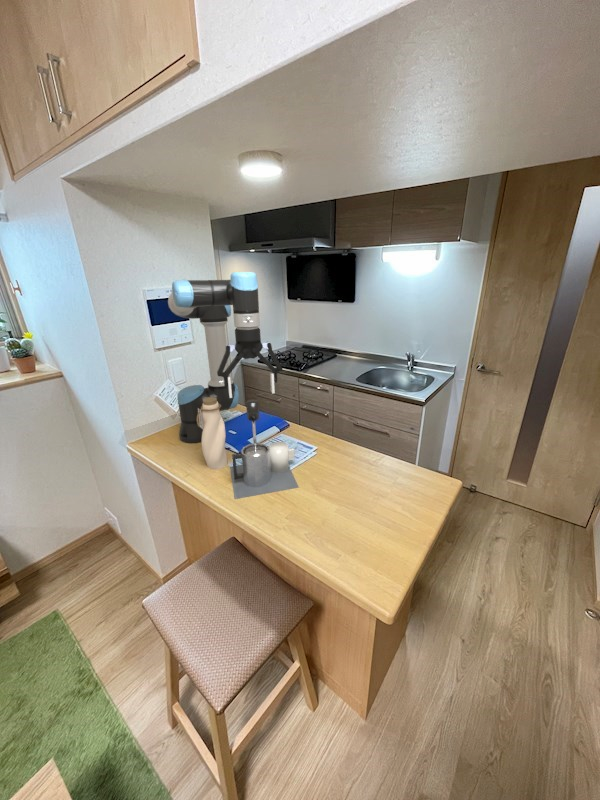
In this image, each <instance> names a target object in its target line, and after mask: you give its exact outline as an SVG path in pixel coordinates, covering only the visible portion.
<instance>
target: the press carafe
mask: <svg viewBox="0 0 600 800" xmlns="http://www.w3.org/2000/svg"><path fill="white" fill-rule="evenodd" d="M253 446H254V443H249V444H247V445H245V446H243V447H242V449H240V450H241V451H240V453H234V454H233V453H232V454H231V458H232V466H233V471H234V479H235V480H236V479H240V478H244V483H245V484H246V485H248V486H249V487H262V486H265V485H266V484H268V483H269V482H270V480H271V462H270V449H269V445H267V444H266V443H260V442H257V446H261V447H264V448H265V449H266V453H265V454H263V455H261V456H247V455H246V454H245V450H246V449H248V448H249V447H253ZM240 459H241V462H242V464H241V465H243V473H240V474H237V469H236V466H237V460H240Z"/></svg>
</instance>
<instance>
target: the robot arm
mask: <svg viewBox="0 0 600 800" xmlns="http://www.w3.org/2000/svg"><path fill="white" fill-rule="evenodd" d="M171 286H172V287H171V291H172V292H171V293H170V295H169V296H168V299H167V305H168V309H170V311H171V312H172V313H173V314H174V315H175V316H178V317H180V318H184V319H189V320H191V319H193V320H194V319H199V323H200V324H201V325H202V326H203V328H204V334H205V344H206V352H207V360H208V369H209V376H210V377H209V378H210V380H209V381H208V383H207V387H204V386H203V385H201V384H193V385H189V386H186V387H183V388H182V389H180V390H179V391H178V392H177V396H176V397H177V405H178V410H179V417H180V427H179V432H178V437H179V440H180V441H181V442H183V443H186V444H187V443H188V444H196V443H200V442H201V443H202V432H203V429H202V428H201V427H198V424H197V414H198V408H199V409H201V406H202V405H203V399H205V398H208V397H215V398H217V402H218V403H219V404H221V408H219V412H221V411H228V410H232V409H235V408H237V406H238V405H239V399H240V392H239V388H238V387H239V386H238V385H237V384H236V383H234V382H235V381H234V380H233V379H232V378H231V376H230V374H231V373H233V372H232V371H233V370H234V369H235V368H236V367H237V365H238V363H240V361H241V360H242V359H245V360H248V359H256V358H257V357H258V359H260V361H262V362H263V364H265V366H267V368H268V369H269V370H270V372H269V379H270V383H269V384H270V393H271V394H275V393H276V392H275V383H278V373H279V372H282V371H283V370H284V369H283V367H282V365H281V364H280V362H279V359H278V357H277V356H276V353H274V351H273V346H272V343H271V342H270V341H266V342H263V343H262V340H261V339H262V338H261V328H260V326H261V323H260V307H259V306H260V305H259V304H260V302H259V283H258V276H257V274H256V273H255V272H254V271H236V272H235V271H234V272H231V273H230V279H208V280H205V279H204V280H203V279H201V280H200V279H199V280H198V279H197V280H196V279H193V280H192V279H189V280H188V279H181V280H174V281H173V282H172V283H171ZM231 306H232V308H231ZM232 312H233V313H232ZM231 315H233V324H234V327H235V329H234V335H235V344H234V345H232V344H229V343H227V337H226V324H227V322H228V318H229V317H231ZM263 348H264V349H265V350H266V351H267V353H268V354H269V356H270V358H271V359H272V361H273V363H274V365H275V366H273V365H272V363H271V362H270V361H269V360H267V358H266V357H265V356H264V355H263V354H262V353H261V351H262V349H263ZM234 350H235V351H236V353H237V354H236V355H235V357H234V358H233V360H231V362H230V363H229V357H230V355H231V353H233V351H234ZM202 409H203V408H202ZM199 411H200V410H199ZM201 413H202V411H201ZM198 421H199V417H198ZM199 425H200V424H199Z"/></svg>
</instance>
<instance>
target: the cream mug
mask: <svg viewBox="0 0 600 800" xmlns="http://www.w3.org/2000/svg"><path fill="white" fill-rule="evenodd" d="M268 446H269V449H270V462H271V472H273V473H284V472H286V471H287V470H288V469H289V467H290V462H289V461H291V460H295V459H296V454H295V453H296V451H295V448H289V445H288V444H287V443H286V442H282V441H276V442H272V443H270V444H269V445H268Z"/></svg>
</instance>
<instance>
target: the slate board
mask: <svg viewBox="0 0 600 800" xmlns="http://www.w3.org/2000/svg"><path fill="white" fill-rule="evenodd" d="M229 468H230V469H229V470H230V477H231V483H232V484H231V485H232V491H233V499H234V500H238V499H243V498H244V499H245V498H250V497H256V496H260V495H266V494H272V493H277V492H282V491H287V490H292V489H298V488H300V487H299V485H298V482H297V480H296V477H295V476H294V474H293V471H292V469H291V467H290V466H289V469H288V470H287V471H286V472H284V473H273V472H271V480H270V482H269V483H268V484H266V485H265V486H262V487H249V486H248V485H246V484H245V483H244V478H240V479H236V480H235V479H234V471H233V465H232V466H229ZM236 469H237V474H240V473H243V465H242V464H240V465H239V464H238V465H236Z"/></svg>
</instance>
